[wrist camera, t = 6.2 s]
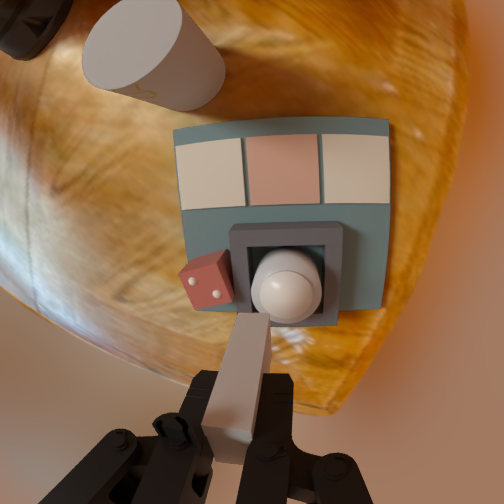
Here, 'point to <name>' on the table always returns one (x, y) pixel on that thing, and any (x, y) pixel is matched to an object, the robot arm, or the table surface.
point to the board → (291, 202)
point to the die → (209, 280)
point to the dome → (286, 285)
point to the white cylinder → (153, 55)
